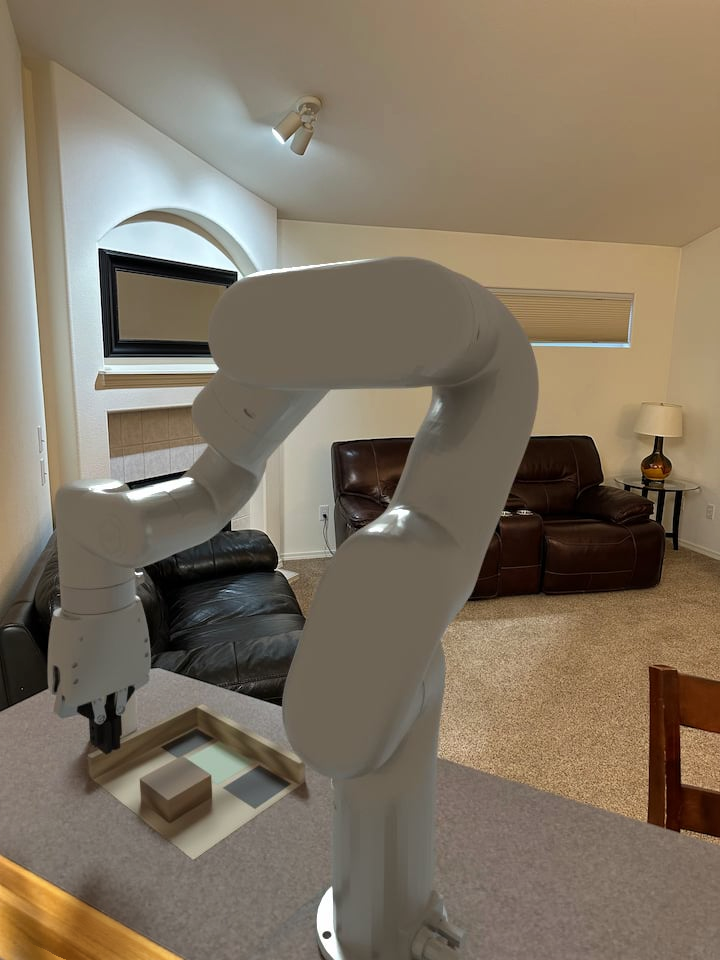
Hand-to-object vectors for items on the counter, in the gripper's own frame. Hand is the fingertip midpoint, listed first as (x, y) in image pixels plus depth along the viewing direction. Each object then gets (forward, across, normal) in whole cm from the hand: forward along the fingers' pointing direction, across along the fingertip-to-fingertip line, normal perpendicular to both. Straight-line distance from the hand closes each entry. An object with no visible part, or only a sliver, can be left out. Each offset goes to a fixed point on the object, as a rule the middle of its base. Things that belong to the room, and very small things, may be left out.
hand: (106, 746), depth 73 cm
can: (+11, -10, -17) cm, 23 cm away
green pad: (+10, -15, +1) cm, 18 cm away
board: (+10, -11, +2) cm, 15 cm away
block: (+9, -7, +3) cm, 12 cm away
